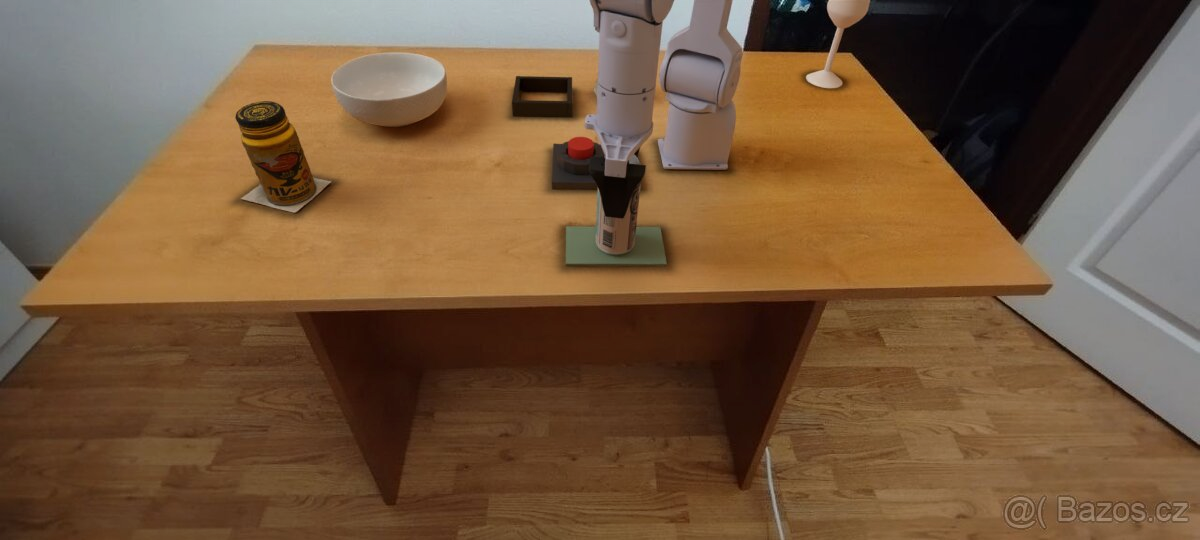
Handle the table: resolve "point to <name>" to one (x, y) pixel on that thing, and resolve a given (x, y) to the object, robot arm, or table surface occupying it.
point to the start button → (580, 148)
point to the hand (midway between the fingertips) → (618, 195)
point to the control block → (572, 169)
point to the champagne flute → (838, 37)
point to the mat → (588, 254)
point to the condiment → (276, 158)
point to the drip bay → (542, 107)
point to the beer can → (618, 224)
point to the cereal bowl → (390, 88)
